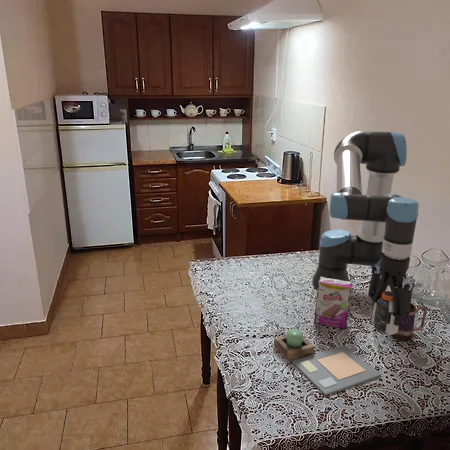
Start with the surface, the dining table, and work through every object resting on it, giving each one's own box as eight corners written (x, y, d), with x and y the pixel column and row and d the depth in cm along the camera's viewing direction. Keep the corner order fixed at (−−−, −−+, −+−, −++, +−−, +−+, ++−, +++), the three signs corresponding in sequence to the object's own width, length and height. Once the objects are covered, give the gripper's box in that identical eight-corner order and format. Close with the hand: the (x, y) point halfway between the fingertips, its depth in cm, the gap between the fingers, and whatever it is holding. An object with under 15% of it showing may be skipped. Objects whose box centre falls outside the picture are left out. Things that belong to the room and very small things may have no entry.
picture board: (343, 346, 138) (344, 344, 137) (380, 376, 124) (381, 373, 124) (291, 362, 129) (292, 360, 129) (325, 395, 116) (325, 393, 115)
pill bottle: (396, 335, 122) (402, 300, 118) (374, 332, 123) (380, 297, 119) (393, 323, 127) (398, 289, 123) (372, 321, 128) (377, 287, 125)
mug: (391, 340, 141) (396, 308, 138) (388, 329, 148) (393, 298, 144) (424, 344, 139) (430, 312, 136) (419, 333, 146) (425, 301, 142)
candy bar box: (313, 324, 150) (317, 281, 145) (315, 317, 155) (319, 276, 150) (346, 330, 147) (351, 287, 142) (347, 323, 151) (352, 281, 146)
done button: (296, 338, 138) (296, 327, 136) (304, 346, 134) (305, 335, 132) (283, 342, 136) (284, 331, 134) (291, 350, 132) (292, 339, 130)
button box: (297, 339, 141) (297, 331, 140) (313, 354, 133) (314, 346, 132) (273, 346, 137) (274, 338, 136) (289, 361, 130) (290, 353, 129)
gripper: (360, 244, 124) (351, 314, 131) (413, 270, 108) (399, 348, 115) (380, 240, 127) (370, 309, 134) (434, 265, 111) (419, 341, 118)
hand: (384, 327), depth 125 cm, fingers closed on pill bottle, 6 cm apart
